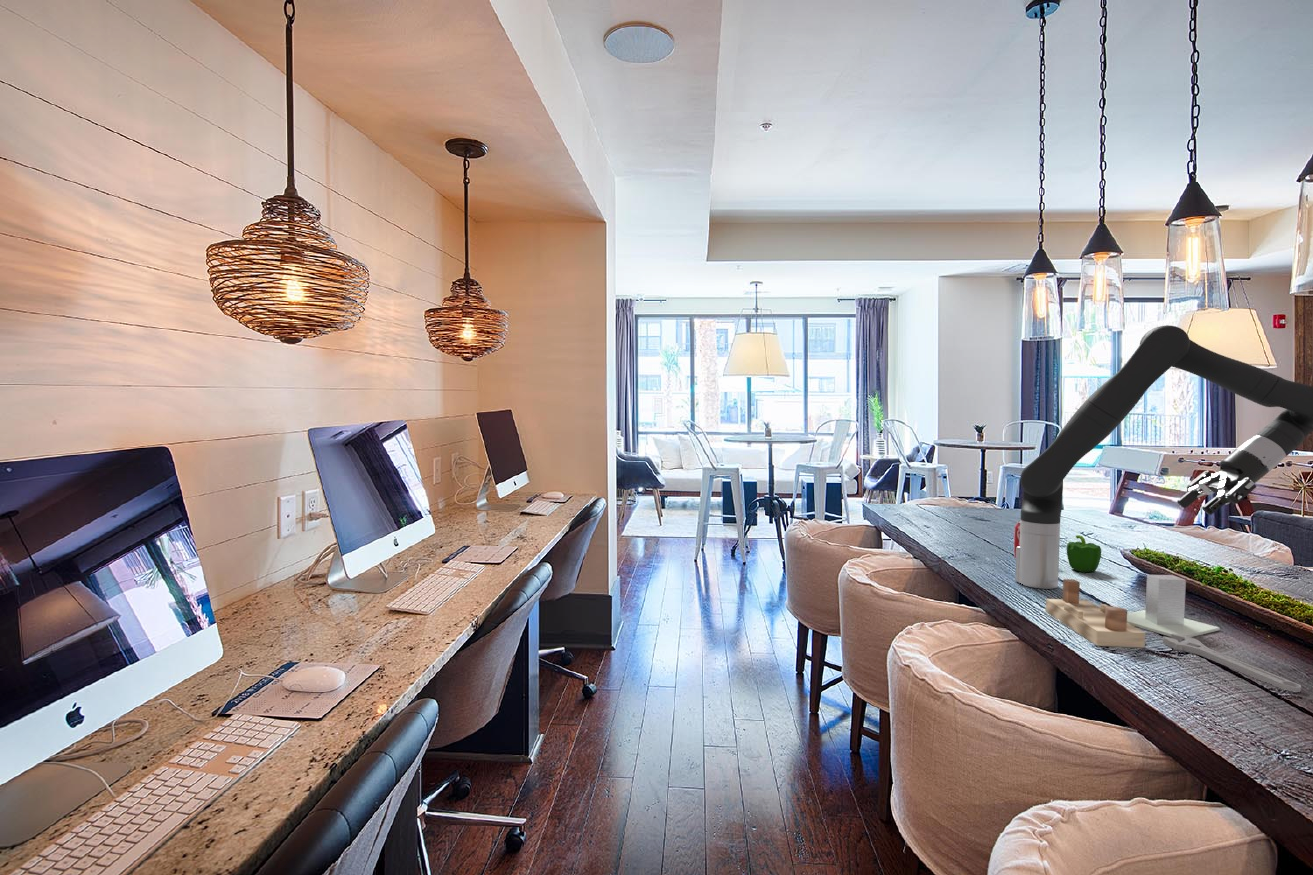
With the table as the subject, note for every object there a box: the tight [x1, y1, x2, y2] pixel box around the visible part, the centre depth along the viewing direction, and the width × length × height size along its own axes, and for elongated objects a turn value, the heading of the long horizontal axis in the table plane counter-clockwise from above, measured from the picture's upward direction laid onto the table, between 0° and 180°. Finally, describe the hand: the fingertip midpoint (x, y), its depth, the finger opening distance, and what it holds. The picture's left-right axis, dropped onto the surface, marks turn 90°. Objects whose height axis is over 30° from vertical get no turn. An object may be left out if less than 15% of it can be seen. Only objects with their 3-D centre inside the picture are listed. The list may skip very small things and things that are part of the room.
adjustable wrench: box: [1162, 634, 1302, 692], centre depth 125 cm, size 25×6×2 cm, turn 2°
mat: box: [1127, 609, 1221, 638], centre depth 147 cm, size 14×14×1 cm
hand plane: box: [1045, 578, 1146, 648], centre depth 145 cm, size 22×9×8 cm, turn 174°
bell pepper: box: [1066, 534, 1102, 573], centre depth 194 cm, size 8×8×10 cm
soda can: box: [1013, 519, 1021, 559], centre depth 206 cm, size 7×7×12 cm
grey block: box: [1145, 574, 1187, 625], centre depth 147 cm, size 4×6×10 cm
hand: (1192, 508), depth 152 cm, fingers open, 8 cm apart
